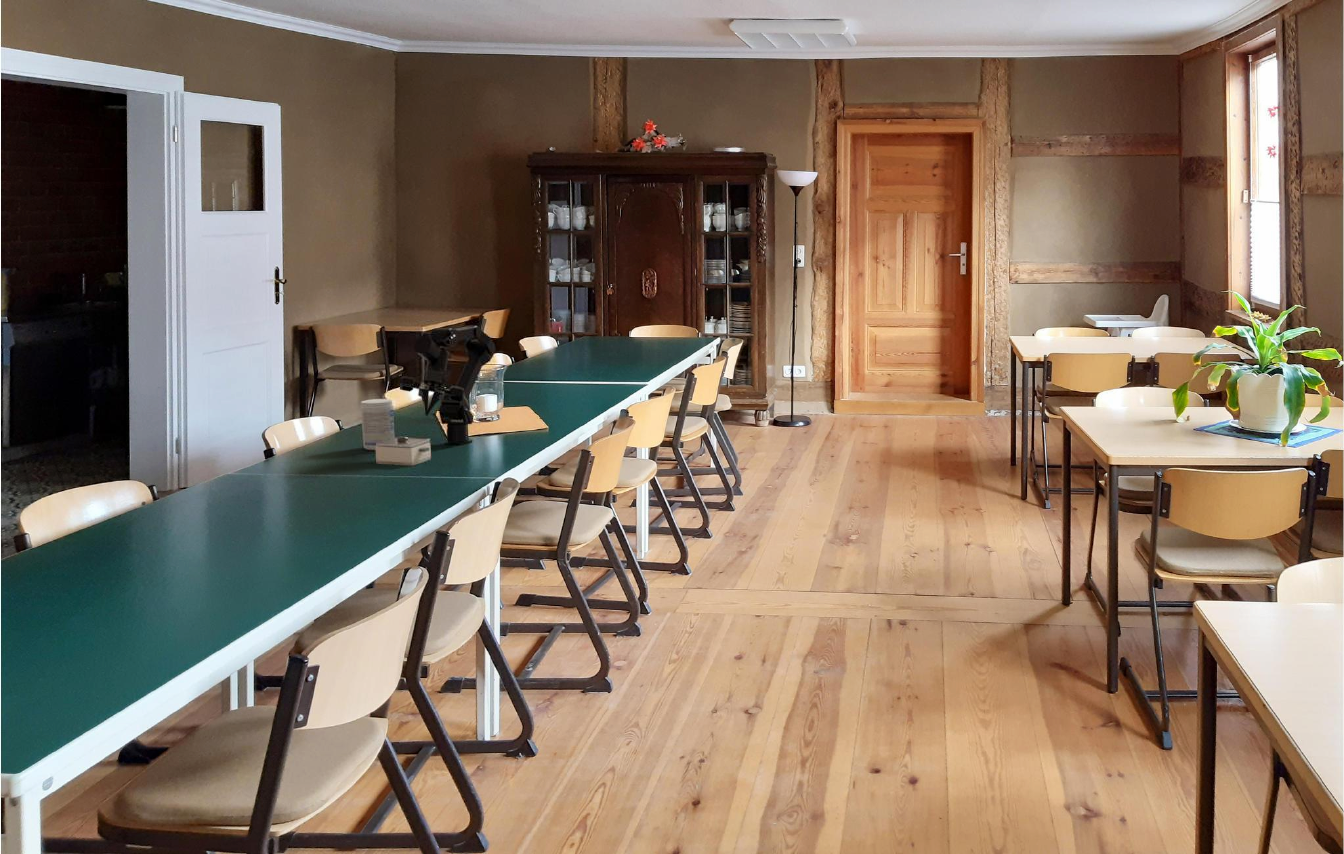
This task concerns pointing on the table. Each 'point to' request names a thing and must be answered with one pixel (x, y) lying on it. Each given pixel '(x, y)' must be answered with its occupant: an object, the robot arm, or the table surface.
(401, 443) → the lid
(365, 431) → the supplement tub
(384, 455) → the pot
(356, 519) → the table surface
